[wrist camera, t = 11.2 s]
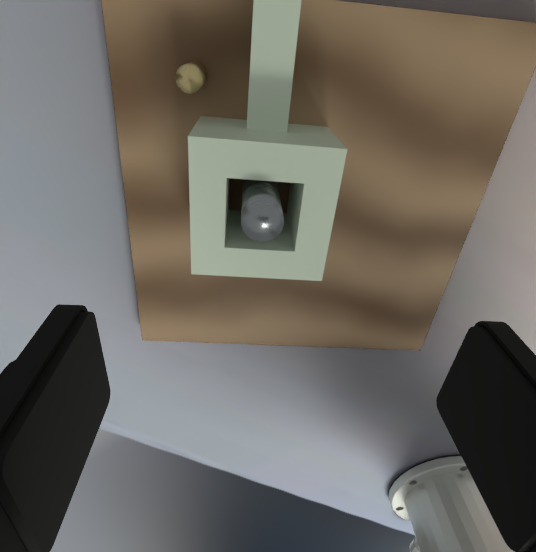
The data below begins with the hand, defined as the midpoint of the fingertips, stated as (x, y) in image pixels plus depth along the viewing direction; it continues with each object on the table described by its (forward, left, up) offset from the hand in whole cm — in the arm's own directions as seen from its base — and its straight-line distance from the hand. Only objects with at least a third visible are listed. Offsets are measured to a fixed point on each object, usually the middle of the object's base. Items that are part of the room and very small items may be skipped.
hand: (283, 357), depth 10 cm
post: (0, 0, -15) cm, 15 cm away
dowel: (+5, +4, -15) cm, 16 cm away
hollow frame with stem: (+3, 0, -15) cm, 15 cm away
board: (-2, -3, -16) cm, 17 cm away
